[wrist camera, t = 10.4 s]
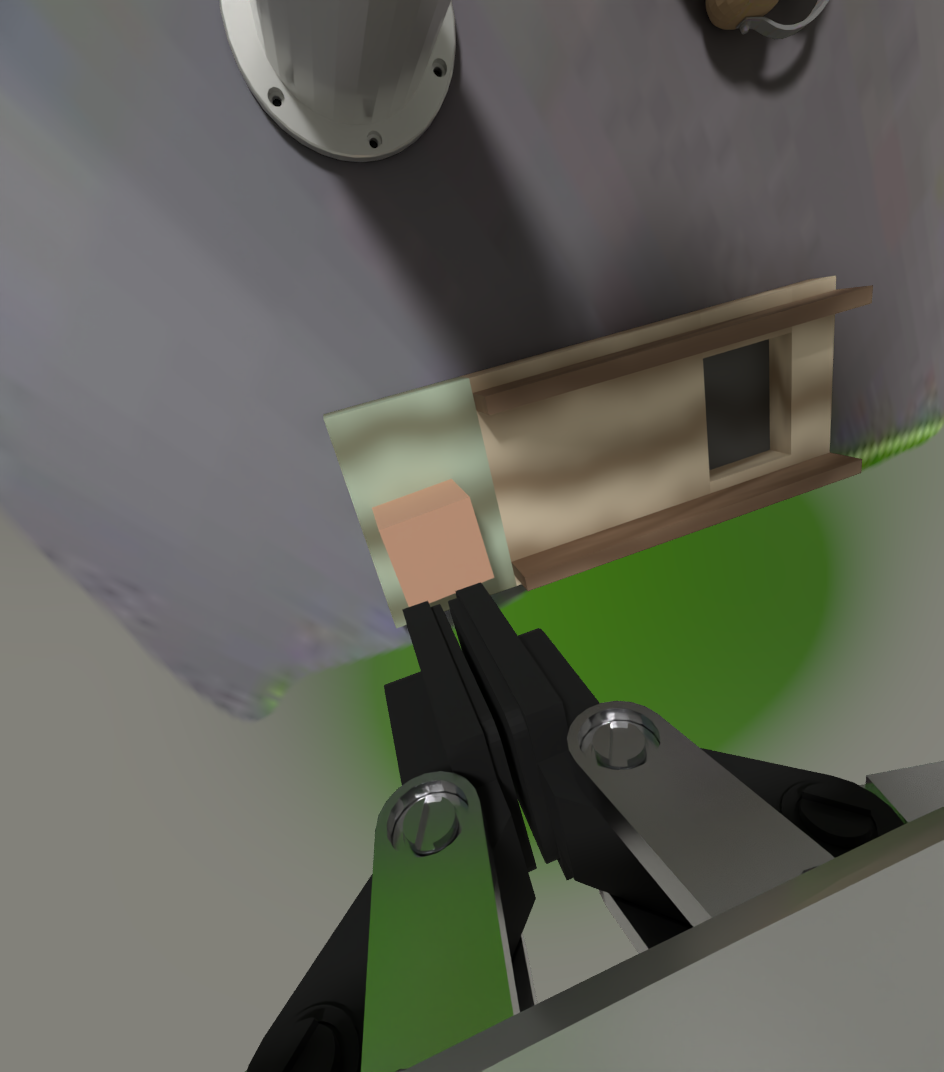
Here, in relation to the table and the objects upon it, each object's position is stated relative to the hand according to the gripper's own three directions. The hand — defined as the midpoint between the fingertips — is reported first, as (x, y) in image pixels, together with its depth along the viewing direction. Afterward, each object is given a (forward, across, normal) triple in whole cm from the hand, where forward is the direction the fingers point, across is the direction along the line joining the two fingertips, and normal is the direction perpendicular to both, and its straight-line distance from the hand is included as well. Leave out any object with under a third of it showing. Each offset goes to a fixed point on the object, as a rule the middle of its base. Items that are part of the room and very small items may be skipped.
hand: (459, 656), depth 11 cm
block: (+27, -2, +7) cm, 28 cm away
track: (+29, -18, +6) cm, 35 cm away
